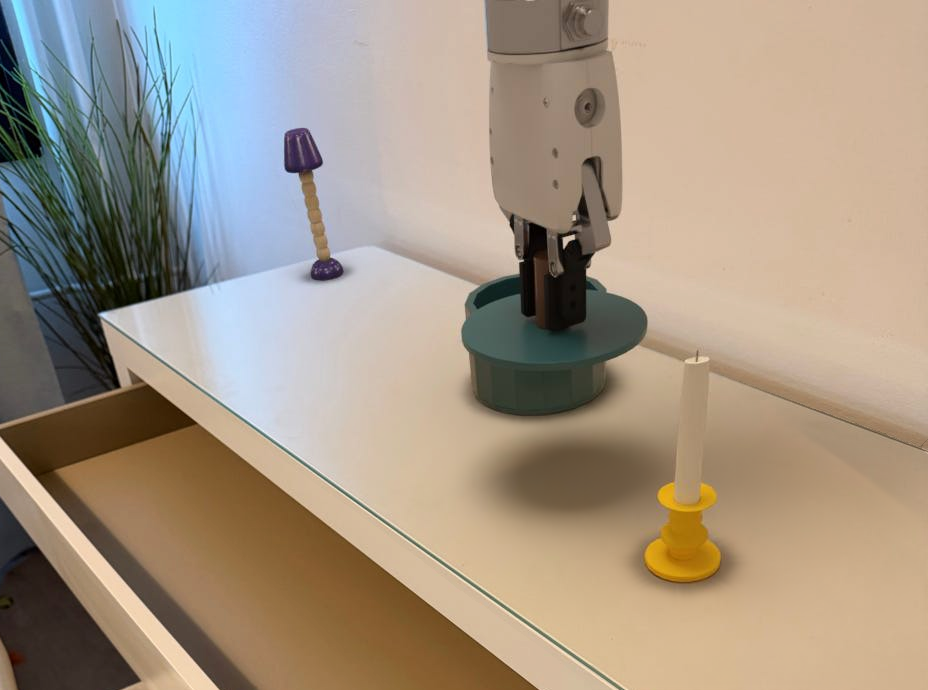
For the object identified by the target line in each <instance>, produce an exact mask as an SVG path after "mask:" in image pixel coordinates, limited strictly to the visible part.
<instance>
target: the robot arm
mask: <svg viewBox="0 0 928 690" xmlns="http://www.w3.org/2000/svg"><path fill="white" fill-rule="evenodd" d="M609 2H610V0H483V5H484V7H483V8H484V23H485V39H486V40H485V41H486V56H487V61H488V62H489V63H490V69H489V85H488V86H489V89H488V90H489V91H488V131H489V133H488V134H489V135H488V136H489V137H488V138H489V140H488V141H489V163H490V175H491V185H492V191H493V198H494V199H495V202H496V203H497V204H498V207H499V209H500V211H501V212H502V214H503V215H504V217H505V218H506V219H507V221H508V222H509V223H508V224H509V228H510V229H511V231H512V234H513V238H514V239H513V241H514V242H513V244H514V254H515V257H516V259H517V260H519V262H518V274H519V275H520V297H521V313H522V314H523V315H524V316H526V317H532V316H535V290H534V262H533V256H534V254H535V253H536V252H538V251H541V250H545V249H548V260H549V271H550V273H549V274H546V275H544V299H545V327H546V328H547V329H548V330H550V331H552V332H553V331H557V330H560V329H563V328H566V327H570V326H573V325H576V324H579V323H582V322H584V321H585V319H586V276H587V269H590V268H591V265H592V258H593V257H594V256H595V254H596V253H597V252H599V251H602V250H604V249H606V248H608V247H610V246H611V244H612V235H611V231H610V227H609V222H611V221H615V220H617V219H618V218H619V217H620V215H621V211H622V208H623V149H622V148H623V147H622V145H623V144H622V123H621V109H620V108H621V107H620V98H619V88H618V87H619V86H618V80H617V74H616V73H617V71H616V67H615V61H614V56H613V51H611V50H608V49H609V14H610V12H609V11H610V9H609V7H610V6H609V5H610V3H609ZM574 216H575V220H574V219H573V217H574ZM570 236H571V237H572V236H574V239H570V240H568V242H567V243H566V245H565V246H564V238H567V237H570Z"/></svg>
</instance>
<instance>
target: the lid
mask: <svg viewBox="0 0 928 690" xmlns="http://www.w3.org/2000/svg"><path fill="white" fill-rule="evenodd" d="M533 262H534V290H535V316H532V317H526V316H524V315H523V314H522V313H521V297H520V294H517V295H513V296H509V297H506V298H503V299H500V300H497V301H494V302H492V303H489V304H487V305H485V306H483V307H481V308H480V309H478V310H477V311H475V312H474V313H472V314H471V315H470V316H469V317H468V318H467V319H466V318H465V320H464V321H463V323H462V325H461V330H460V332H461V333H460V335H461V343H462V345H463V347H464V349H465V350H466V351H467V352H468V354H469V353H470V354H471V355H473V356H474V357H476V358H478V359H480V360H482V361H484V362H487V363H489V364H493V365H496V366H500V367H505V368H510V369H517V370H529V371H553V370H566V369H574V368H580V367H585V366H590V365H595V364H598V363H602V362H605V361H606V362H608V361H610V360H613V359H616V358H618V357H620V356H623V355H625V354H627V353H628V352H631V350H633V349H634V348H635V347H637V346H638V345H640V343H641V342H642V341H643V340H644V339H645V337H646V335H647V331H648V324H649V323H648V322H649V321H648V316H647V313H646V311H645V310H644V309H643V308H642V306H640V305H639V304H637V303H636V302H634V301H633V300H632V299H629V298H626V297H625V296H621V295H618V294H615V293H611V292H602V291H595V290H586V319H585V321H584V322H582V323H579V324H576V325H573V326H570V327H566V328H563V329H560V330H557V331H553V332H552V331H550V330H548V329H547V328H546V327H545V299H544V275H546V274H549V273H550V271H549V260H548V249H545V250H541V251H538V252H536V253H535V254H534V256H533Z"/></svg>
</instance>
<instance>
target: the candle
mask: <svg viewBox="0 0 928 690" xmlns="http://www.w3.org/2000/svg"><path fill="white" fill-rule="evenodd" d="M710 360H711V358H710V357H708V356H704V355H703V356H699V349H698V350H696V353H695V356H693V357H689V358H686V359H685V360H684V363H683V371H682V381H681V392H680V403H679V420H678V431H677V447H676V462H675V474H674V481H672V482H669V483H667V484H665V485H664V486H662V487H661V488H660V489H659V490H658V493H657V500H658V502H659V504H660V505H661V506H663V507H664V508H666V509H668V510H669V512H668V522H667V523H665V524H664V525H663V526H662V527H661V529H660V533H659V534H660V537H659V538H657V539H655V540H654V541H652V542H651V543H649V544H648V546H647V547H646V548H645V552H644V562H645V563H644V564H645V565H646V567H647V569H648V570H649V571H650V572H651V573H652V574H653V575H655V576H656V577H657V576H658V577H659V578H661V579H663V580H667V581H671V582H676V583H692V582H697V581H702V580H704V579H706V578H709V577H710V576H712V575H713V574H715V573H716V572H717V570H718V569H719V567H720V565H721V559H722V558H721V557H722V556H721V551H720V549H719V548H718V547H717V546H716V544H715V543H713V542H712V541H710V540H709V539H708V538H709V537H708V536H709V531H708V528H707V527H706V526H705V525H704V524H703V523H702V520H703V517H704V516H703V511H705V510H707V509H709V508H711V507H713V506H714V505H715V503H716V502H717V498H718V495H717V492H716V491H715V489H714V488H713V487H711V486H710V485H709V484H707V483H704V482H702V476H703V463H704V451H705V438H706V437H705V436H706V424H707V412H708V411H707V410H708V399H709V386H710Z"/></svg>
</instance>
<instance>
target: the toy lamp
mask: <svg viewBox="0 0 928 690" xmlns="http://www.w3.org/2000/svg"><path fill="white" fill-rule="evenodd" d="M323 160H324V159H323V157H322V155H321V153H320V150H319V148H318V146H317V143H316V141H315V139H314V137H313V135H312V133H311V130H309V128H307V127H297V128H293V129H289V130H287V131H285V133H284V136H283V167H284V170H285V172H286V173H289V174H298V178H299V180H300V182H301V192H302V194H303V196H304V199H303V200H304V205H305V208H306V209H307V212H306V213H307V219H308V221H309V223H310V225H309V226H310V227H309V228H310V232H311V234H312V236H313V239H312V240H313V244H314V246H315V248H316V249H315V250H316V251H315V253H316V257H317V260H316V261H314V262H313V263H312V266H311V268H310V278H311V279H313V280H317V281H327V280H331V279H336V278H338V277H339V276H340V277H341V275H343V273H344V268H343V265H342V263H340V261H339V260H338V259H336V258H333V257H331V250H330V249H329V247H328V245H329V244H328V243H329V242H328V237H327V235H326V234H325V233H326V226H325V223H324V222H323V213H322V211H321V209H320V201H319V196H317V186H316V183H315V181H314V171H315V170H317V169H319V168H321V167H322V166H323V164H324V161H323Z"/></svg>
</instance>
